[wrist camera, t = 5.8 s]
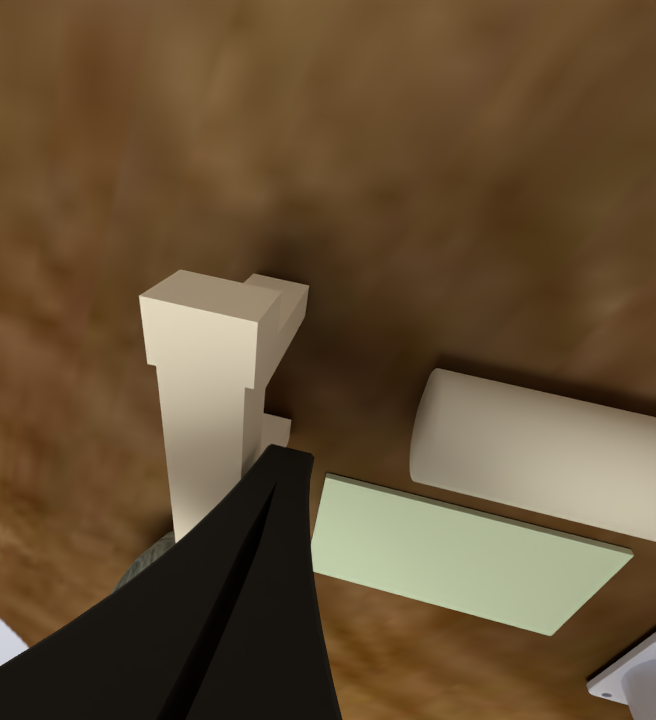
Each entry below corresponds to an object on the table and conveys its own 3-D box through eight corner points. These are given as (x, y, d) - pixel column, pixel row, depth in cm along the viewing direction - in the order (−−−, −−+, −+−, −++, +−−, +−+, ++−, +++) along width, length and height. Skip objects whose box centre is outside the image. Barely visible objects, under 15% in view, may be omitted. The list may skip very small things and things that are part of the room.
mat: (630, 549, 17) (633, 555, 17) (549, 630, 22) (550, 636, 21) (326, 472, 18) (325, 477, 18) (306, 564, 23) (305, 569, 22)
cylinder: (716, 412, 14) (827, 496, 10) (654, 493, 16) (730, 588, 12) (436, 349, 14) (448, 407, 11) (408, 434, 16) (410, 507, 13)
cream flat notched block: (321, 240, 12) (257, 322, 7) (293, 441, 17) (243, 574, 12) (250, 225, 13) (139, 296, 8) (241, 428, 17) (171, 554, 12)
